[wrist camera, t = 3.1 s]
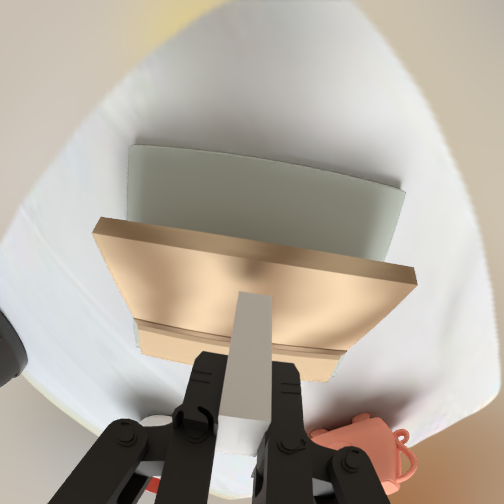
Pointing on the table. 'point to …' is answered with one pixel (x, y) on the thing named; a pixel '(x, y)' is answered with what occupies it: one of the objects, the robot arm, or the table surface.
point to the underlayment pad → (256, 222)
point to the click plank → (248, 285)
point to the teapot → (373, 447)
